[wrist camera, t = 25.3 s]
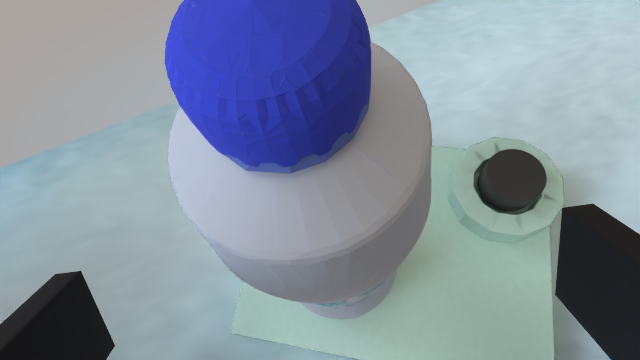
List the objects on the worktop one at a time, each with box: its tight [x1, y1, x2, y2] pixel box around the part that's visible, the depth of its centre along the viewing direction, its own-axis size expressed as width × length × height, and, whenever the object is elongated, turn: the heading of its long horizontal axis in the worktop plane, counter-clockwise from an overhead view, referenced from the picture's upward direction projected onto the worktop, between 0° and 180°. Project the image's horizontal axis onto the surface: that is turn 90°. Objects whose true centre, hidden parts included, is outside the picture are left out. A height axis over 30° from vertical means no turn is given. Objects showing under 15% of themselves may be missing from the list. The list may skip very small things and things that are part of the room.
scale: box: [230, 138, 564, 360], centre depth 24 cm, size 18×14×3 cm
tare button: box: [478, 149, 547, 211], centre depth 22 cm, size 3×3×2 cm
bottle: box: [165, 0, 432, 319], centre depth 15 cm, size 7×7×20 cm
